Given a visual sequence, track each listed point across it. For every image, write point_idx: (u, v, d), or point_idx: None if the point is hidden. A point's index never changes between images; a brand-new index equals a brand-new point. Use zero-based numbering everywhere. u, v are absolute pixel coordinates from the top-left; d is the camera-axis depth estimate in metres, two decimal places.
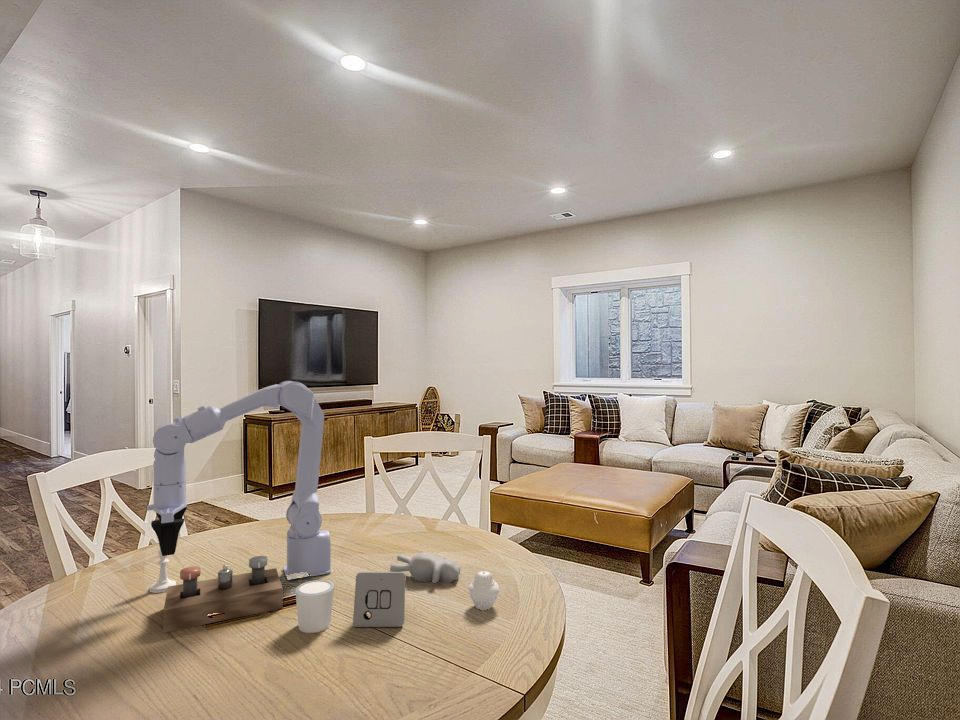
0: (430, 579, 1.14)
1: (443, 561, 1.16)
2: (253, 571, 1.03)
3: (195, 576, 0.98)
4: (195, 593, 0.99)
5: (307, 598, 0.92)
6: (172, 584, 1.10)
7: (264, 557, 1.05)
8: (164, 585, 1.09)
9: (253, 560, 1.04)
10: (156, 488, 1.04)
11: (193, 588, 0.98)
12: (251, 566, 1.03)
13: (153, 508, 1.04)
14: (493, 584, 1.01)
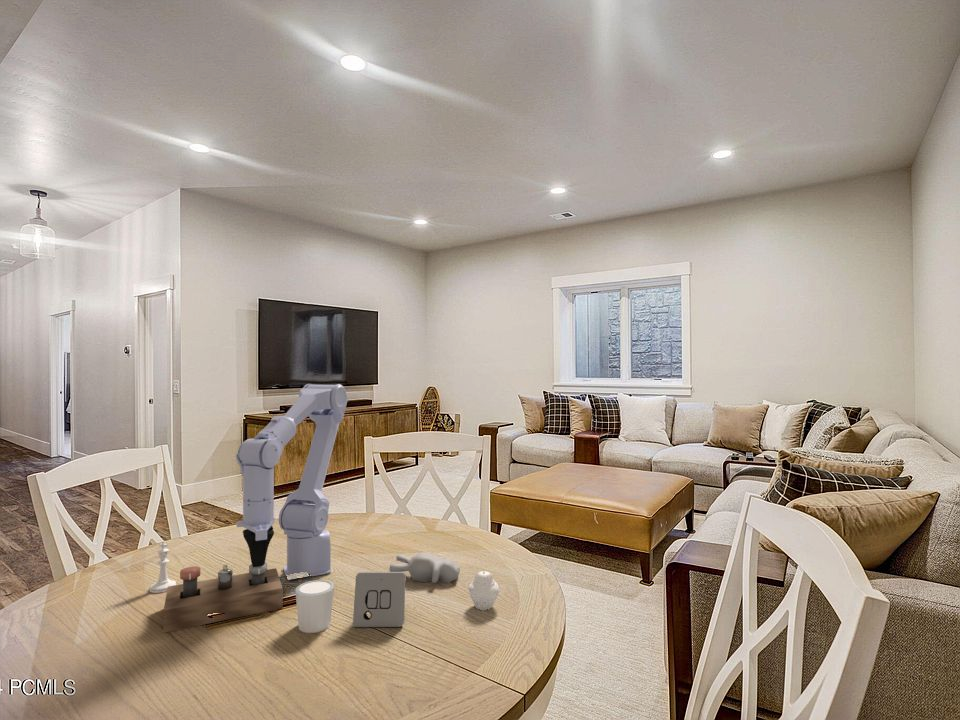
0: (429, 579, 1.14)
1: (442, 561, 1.16)
2: (253, 577, 1.03)
3: (195, 576, 0.98)
4: (195, 593, 0.99)
5: (307, 598, 0.92)
6: (172, 584, 1.10)
7: (264, 563, 1.05)
8: (164, 585, 1.09)
9: None
10: (247, 504, 1.02)
11: (193, 588, 0.98)
12: (251, 572, 1.03)
13: (243, 525, 1.02)
14: (493, 584, 1.02)
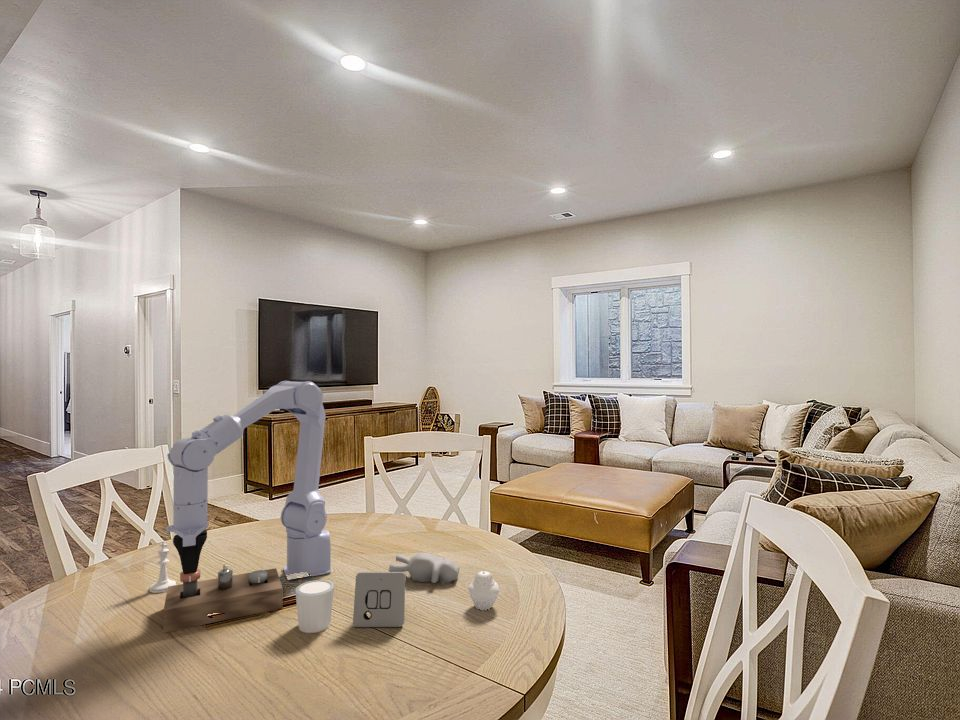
0: (429, 579, 1.14)
1: (442, 561, 1.16)
2: None
3: (195, 578, 0.98)
4: (195, 595, 0.99)
5: (307, 598, 0.92)
6: (172, 584, 1.10)
7: (264, 571, 1.05)
8: (164, 585, 1.09)
9: (253, 574, 1.04)
10: (176, 508, 0.97)
11: (193, 590, 0.98)
12: (251, 581, 1.03)
13: (173, 529, 0.96)
14: (493, 584, 1.01)
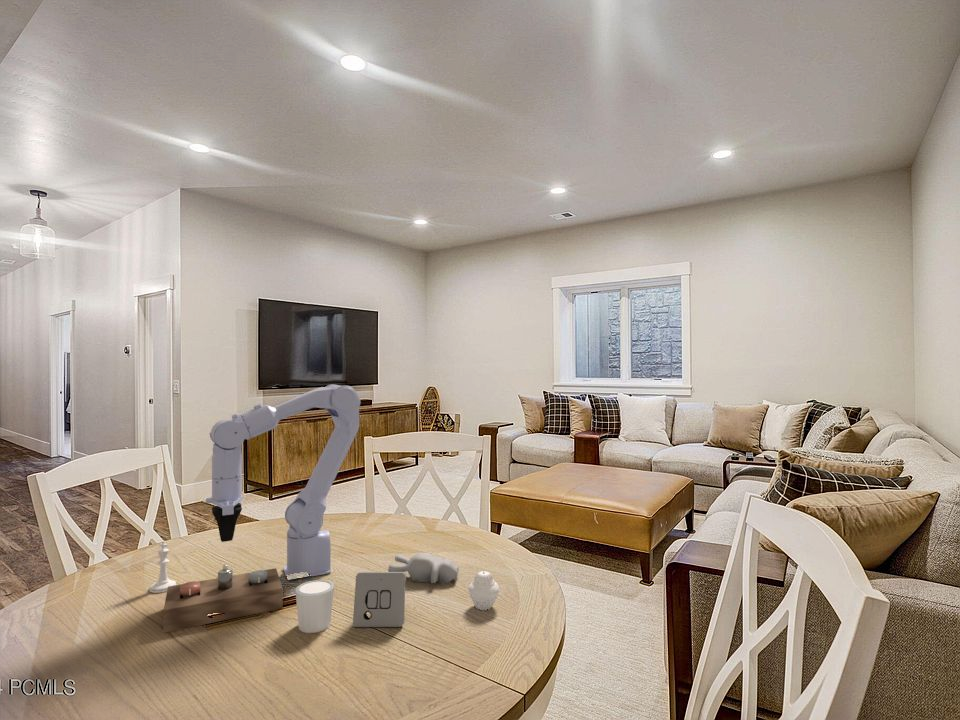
0: (428, 579, 1.14)
1: (441, 561, 1.16)
2: None
3: (195, 591, 0.98)
4: None
5: (307, 598, 0.92)
6: (172, 584, 1.10)
7: (264, 571, 1.05)
8: (164, 585, 1.09)
9: (253, 574, 1.04)
10: (215, 482, 1.08)
11: None
12: (251, 581, 1.03)
13: (212, 501, 1.07)
14: (493, 584, 1.01)
